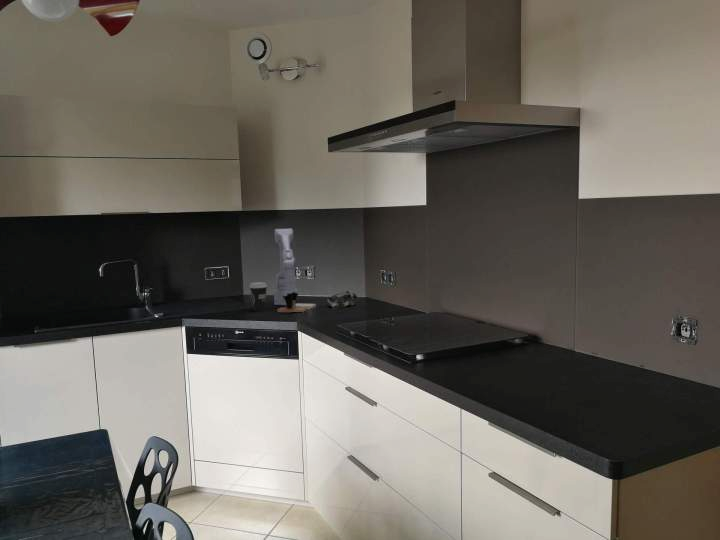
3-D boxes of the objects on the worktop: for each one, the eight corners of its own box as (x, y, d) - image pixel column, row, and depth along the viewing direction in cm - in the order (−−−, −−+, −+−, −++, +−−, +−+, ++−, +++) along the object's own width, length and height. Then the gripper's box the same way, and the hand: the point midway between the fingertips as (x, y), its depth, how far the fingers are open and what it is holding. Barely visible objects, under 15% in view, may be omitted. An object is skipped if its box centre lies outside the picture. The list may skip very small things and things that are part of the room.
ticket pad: (286, 308, 312) (285, 305, 311) (293, 305, 320) (292, 303, 320) (309, 309, 307) (309, 306, 307) (316, 306, 316) (316, 303, 316)
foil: (328, 298, 322) (349, 284, 318) (338, 315, 321) (360, 300, 318) (322, 301, 310) (344, 286, 307) (333, 318, 310) (355, 303, 306)
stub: (277, 312, 302) (277, 300, 301) (281, 310, 306) (281, 299, 306) (301, 312, 297) (301, 301, 297) (305, 311, 302) (305, 299, 301)
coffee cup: (255, 313, 301) (254, 284, 299) (247, 310, 308) (245, 283, 307) (271, 310, 307) (270, 282, 305) (262, 308, 314) (261, 281, 313)
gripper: (291, 284, 292) (292, 310, 293) (302, 280, 305) (303, 305, 307) (278, 283, 294) (279, 309, 295) (290, 280, 307) (291, 305, 309)
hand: (291, 307), depth 301 cm, fingers closed on stub, 3 cm apart
